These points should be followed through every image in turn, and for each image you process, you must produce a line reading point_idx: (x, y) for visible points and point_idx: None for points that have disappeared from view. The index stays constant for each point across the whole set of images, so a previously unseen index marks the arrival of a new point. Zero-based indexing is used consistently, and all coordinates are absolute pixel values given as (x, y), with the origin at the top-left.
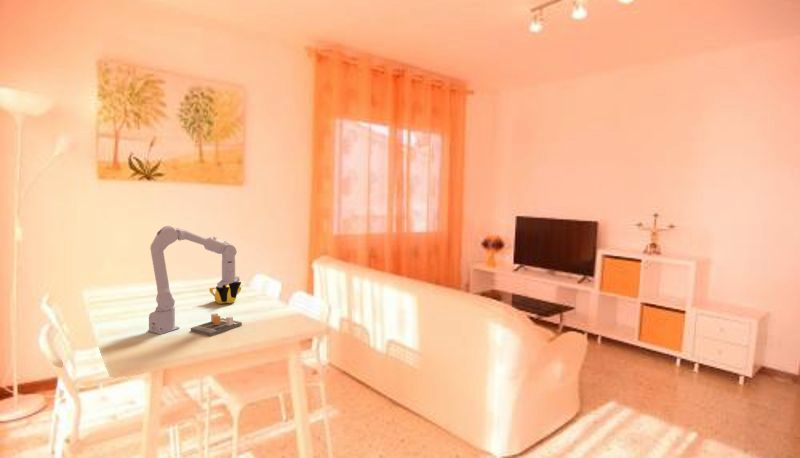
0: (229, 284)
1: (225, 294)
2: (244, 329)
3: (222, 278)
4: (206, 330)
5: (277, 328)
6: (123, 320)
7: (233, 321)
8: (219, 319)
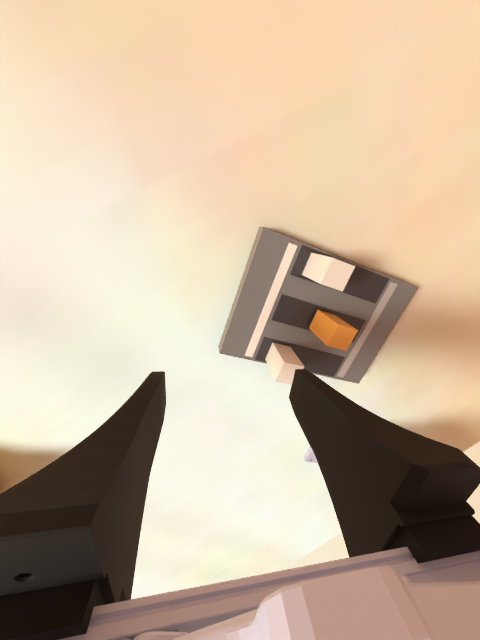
0: (131, 574)
1: (364, 411)
2: (318, 179)
3: None
4: (387, 319)
5: None
6: (277, 543)
7: (257, 278)
8: (334, 319)
